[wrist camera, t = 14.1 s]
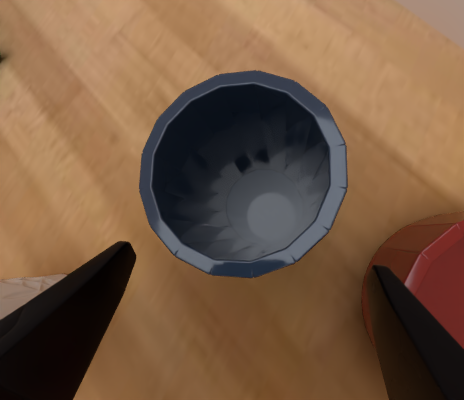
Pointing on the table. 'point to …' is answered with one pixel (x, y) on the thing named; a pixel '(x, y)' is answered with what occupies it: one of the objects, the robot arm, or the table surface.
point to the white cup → (23, 291)
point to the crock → (243, 174)
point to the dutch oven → (428, 268)
